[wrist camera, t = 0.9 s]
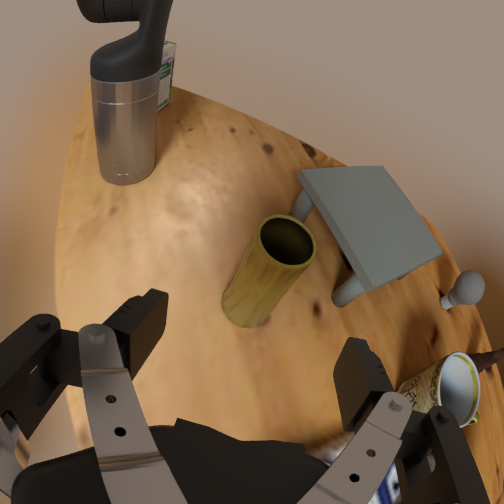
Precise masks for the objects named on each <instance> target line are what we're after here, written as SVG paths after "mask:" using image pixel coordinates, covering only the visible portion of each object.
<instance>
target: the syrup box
mask: <svg viewBox="0 0 504 504" xmlns="http://www.w3.org/2000/svg"><path fill="white" fill-rule="evenodd" d="M175 52H176V43H172V42H168V41H164V47H163V55H162V65H161V74H160V84H159V96H158V108H157V112H158V111H159V110H160V109H161V108H163V107H164V106H165V105H166V104H168V103H169V102H170V95H171V85H172V76H173V67H174V59H175Z"/></svg>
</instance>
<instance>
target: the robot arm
mask: <svg viewBox="0 0 504 504" xmlns="http://www.w3.org/2000/svg"><path fill="white" fill-rule="evenodd" d="M172 3H173V0H77V4H78V7H79V9H80V11H81V13H82V15H83V16H84V17H85V18H86V19H87V20H88V21H90V22H94V23H110V22H126V21H139V22H140V26H139V29H138V30H137V31H136V32H134V33H132V34H131V35H129V36H127V37H125V38H122V39H120V40H117V41H114V42H112V43H109V44H107V45H104V46H103V47H101V48H100V49H98V50H97V51H95V52H94V54H93V55H92V57H91V62H90V73H91V93H92V107H93V118H94V128H95V137H96V145H97V154H98V160H99V167H100V172H101V175H102V177H103V178H104V179H105V180H107V181H108V182H110V183H113V184H117V185H128V184H133V183H137V182H139V181H141V180H143V179H145V178H146V177H147V176H149V175H150V174H151V172H152V171H153V169H154V166H155V143H156V123H157V108H158V96H159V84H160V74H161V65H162V55H163V47H164V40H165V33H166V27H167V23H168V18H169V13H170V10H171V6H172ZM168 298H169V296H168V293H166V292H163V291H160V290H156V289H153V288H151V289H150V290H149V291H148V292H147V293H146V294H145V295H144V296H143V297H142V296H139V295H138V296H135V297H132V298H130V299H128V300H127V301H126V302H125V303H124V304H123V305H122V306H120V307H119V308H118V310H116V311H115V312H114V313H113V314H112V315H111V316H110V317H109V318H108V319H107V320H106V321H105V322H104V323H103V324H89V325H86V326H84V327H83V328H81V329H80V331H79V332H74V331H69V330H64V329H61V325H60V321H59V319H58V318H57V317H55V316H53V315H51V314H38V315H35V316H33V317H31V318H30V319H29V320H28V321H26V322H25V323H24V324H23V325H21V326H20V327H19V328H18V329H17V330H15V331H14V332H13V333H12V334H11V335H9V336H8V337H7V338H6V339H5V340H4V341H3V342H1V343H0V491H1V492H2V493H4V494H5V495H6V496H8V497H9V498H10V499H11V504H368V503H369V501H370V500H371V498H372V497H373V495H374V493H375V492H376V490H377V488H378V487H379V485H380V483H381V482H382V480H383V478H384V476H385V475H386V473H387V471H388V469H389V467H390V466H391V464H392V462H393V460H394V461H395V466H396V471H397V476H398V481H399V486H400V492H401V497H402V503H403V504H490V501H489V498H488V495H487V492H486V489H485V487H484V484H483V481H482V478H481V476H480V473H479V470H478V468H477V465H476V463H475V460H474V458H473V455H472V453H471V451H470V448H469V446H468V444H467V441H466V439H465V437H464V435H463V433H462V430H461V428H460V426H459V424H458V422H457V420H456V418H455V416H454V414H453V413H452V412H451V411H450V410H449V409H448V408H446V407H444V406H440V405H435V406H432V407H431V408H430V410H429V411H428V412H427V414H426V413H423V412H419V411H416V410H412V404H411V402H410V401H409V400H408V399H407V398H406V397H405V396H403V395H402V394H399V393H397V392H395V391H394V389H393V387H392V384H391V382H390V380H389V377H388V375H387V374H386V371H385V368H383V367H384V366H383V364H382V362H381V360H380V358H379V357H378V356H377V355H376V354H375V353H374V352H371V350H370V348H369V346H368V344H367V341H366V340H364V339H359V338H353V337H349V338H348V339H347V341H346V343H345V345H344V347H343V349H342V352H341V354H340V356H339V358H338V360H337V362H336V364H335V367H334V372H333V378H334V383H335V388H336V393H337V397H338V403H339V408H340V413H341V418H342V424H343V429H344V431H353V432H354V433H355V435H354V436H353V438H352V439H351V440H350V442H349V443H348V444H347V446H346V447H345V448H344V449H343V451H342V452H341V453H340V454H339V456H338V457H337V458H336V459H335V460H334V462H333V463H332V464H331V465H330V466H328V465H327V464H325V463H324V462H322V461H321V460H319V459H317V458H315V457H313V456H311V455H308V454H306V453H304V444H298V443H289V442H282V441H275V440H268V441H240V440H237V439H235V438H232V437H230V436H228V435H225V434H223V433H221V432H219V431H217V430H215V429H212V428H210V427H208V426H204V425H200V424H197V423H193V422H190V421H187V420H183V419H180V418H177V420H176V423H175V425H174V426H170V425H157V426H149V427H148V425H147V422H146V420H145V417H144V415H143V412H142V409H141V407H140V404H139V401H138V398H137V395H136V393H135V390H134V387H133V384H132V380H133V379H134V377H135V376H136V374H137V373H138V371H139V370H140V368H141V367H142V365H143V364H144V362H145V361H146V359H147V358H148V356H149V355H150V353H151V352H152V350H153V349H154V347H155V346H156V344H157V343H158V341H159V340H160V338H161V337H162V335H163V333H164V330H165V326H166V317H167V307H168ZM36 366H37V367H36ZM35 367H36V368H35ZM34 368H35V369H34ZM33 369H34V371H33V372H32V373H31V371H32V370H33ZM30 373H31V374H30ZM67 385H72V386H77V387H82V388H83V392H84V399H85V405H86V410H87V415H88V421H89V425H90V430H91V435H92V439H93V443H94V446H93V447H90V448H87V449H84V450H81V451H78V452H75V453H71V454H69V455H65V456H61V457H58V458H55V459H51V460H47V461H43V462H40V463H36V464H33V465H30V466H28V467H27V464H28V460H29V457H30V446H29V444H28V442H27V441H28V439H29V438H30V437H31V435H32V434H33V432H34V430H35V429H36V428H37V426H38V425H39V423H40V422H41V421H42V419H43V418H44V416H45V415H46V414H47V412H48V411H49V409H50V408H51V407H52V405H53V404H54V402H55V401H56V400H57V398H58V397H59V396H60V394H61V393H62V392H63V390H64V389H65V388H66V386H67ZM431 452H433V455H434V458H435V462H436V465H435V469H434V471H433V472H432V473H431V469H430V466H429V463H428V459H427V456H428V455H429V454H430V453H431Z"/></svg>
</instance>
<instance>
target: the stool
mask: <svg viewBox="0 0 504 504" xmlns="http://www.w3.org/2000/svg"><path fill="white" fill-rule="evenodd" d="M297 178H298V180H299V181H300V183H301V184H302V186H303V187H304V188H303V190H302V192H301V194H300V195H299V197H298V199H297V201H296V202H295V204H294V206H293V208H292V210H291V211H290V213H289V215H288V216H291V217H293V218H296V219H297V220H299V221H300V222H302V223H304V221H305V219H306V218H307V216H308V215H309V213H310V212H311V210H312V209H313V207H314V205H315V206H316V207H317V209H318V211H319V212H320V214H321V215H322V217H323V219H324V220H325V222H326V224H327V225H328V227H329V228H330V230H331V232H332V233H333V235H334V237H335V238H336V240H337V242H338V243H339V245H340V247H341V249H342V250H343V252H344V254H345V255H346V257H347V259H348V261H349V262H350V264H351V266H352V268H353V270H354V271H355V273H354V274H353V275H352V276H351V277H350V278H349V279H348V280H346V281H345V282H344V283H343V284H342V285H341V286H340V287H338V288H337V289H336V290H335V291H334V292H333V293H332V296H331V298H332V301H333V303H334V304H335V305H336V306H337V307H344V306H346V305H347V304H348V303H350V302H351V301H352V300H354V299H355V298H356V297H358V296H359V295H360V294H362V293H363V292H364V291H366V293H368V292H370V291H373V290H375V289H377V288H379V287H381V286H383V285H385V284H387V283H389V282H391V281H393V280H395V279H398V280H400V279H402V278H403V277H404V276H406V275H407V274H408V273H410V272H411V271H413V270H415V269H417V268H419V267H421V266H422V265H424V264H426V263H428V262H430V261H432V260H434V259H435V258H437V257H438V256H440V255H441V254H442V253H443V251H442V250H441V248H440V246H439V245H438V243H437V242H436V240H435V238H434V237H433V235H432V234H431V232H430V230H429V229H428V227H427V226H426V224H425V223H424V221H423V220H422V218H421V217H420V215H419V214H418V213H417V211H416V210H415V208H414V207H413V206H412V204H411V203H410V201H409V200H408V198H407V197H406V196H405V195H404V193H403V192H402V190H401V189H400V188H399V186H398V185H397V184H396V182H395V181H394V180H393V179H392V177H391V176H390V175H389V174H388V172H387V171H386V170H385V168H384V167H383V166H355V167H331V168H313V169H301V170H300V172H299V174H298V176H297Z"/></svg>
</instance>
